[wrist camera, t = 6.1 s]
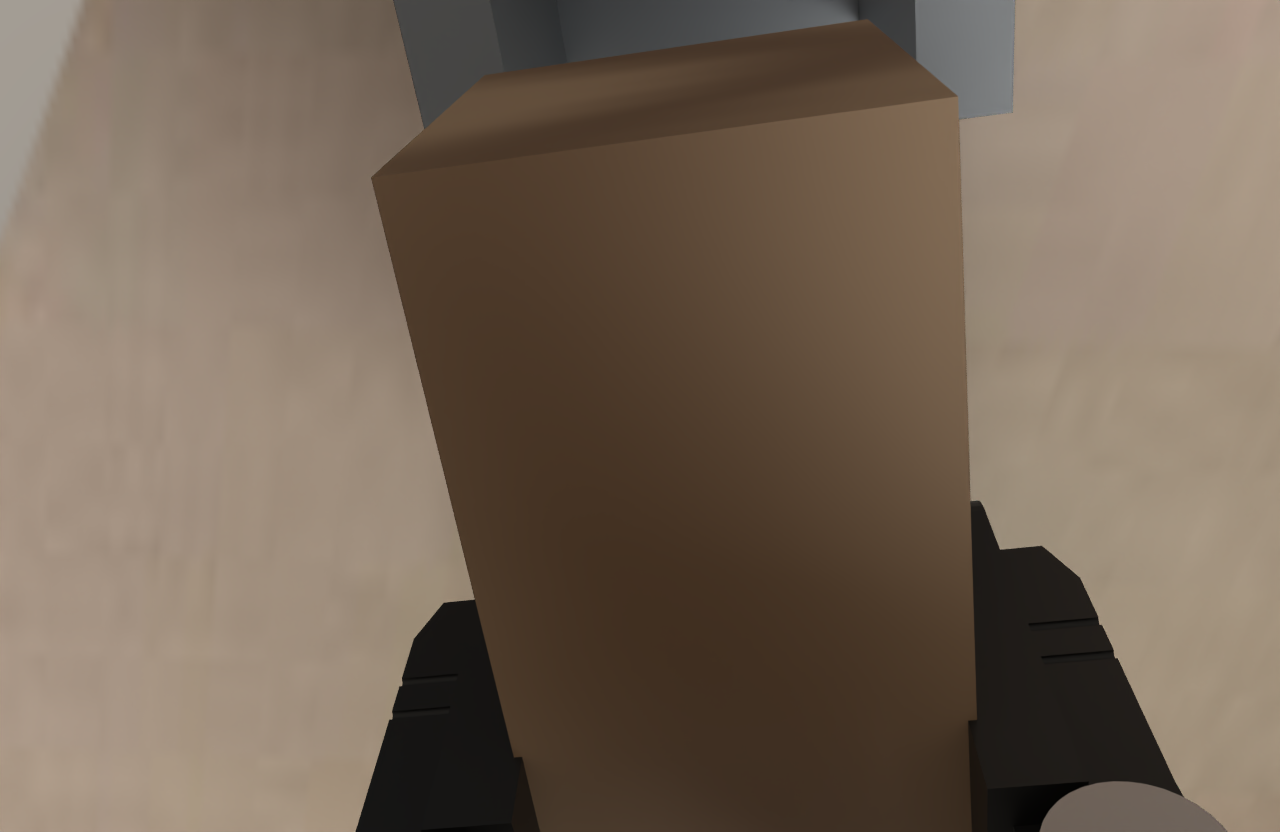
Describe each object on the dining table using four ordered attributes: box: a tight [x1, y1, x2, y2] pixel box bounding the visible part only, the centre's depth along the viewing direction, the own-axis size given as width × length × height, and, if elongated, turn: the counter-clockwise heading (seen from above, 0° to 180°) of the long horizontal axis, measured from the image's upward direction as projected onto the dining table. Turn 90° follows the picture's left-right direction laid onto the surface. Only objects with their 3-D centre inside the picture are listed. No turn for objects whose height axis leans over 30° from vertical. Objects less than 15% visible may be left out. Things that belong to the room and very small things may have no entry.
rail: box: [393, 0, 1015, 129], centre depth 21 cm, size 8×21×7 cm, turn 8°
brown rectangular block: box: [371, 19, 977, 832], centre depth 11 cm, size 4×11×4 cm, turn 9°
